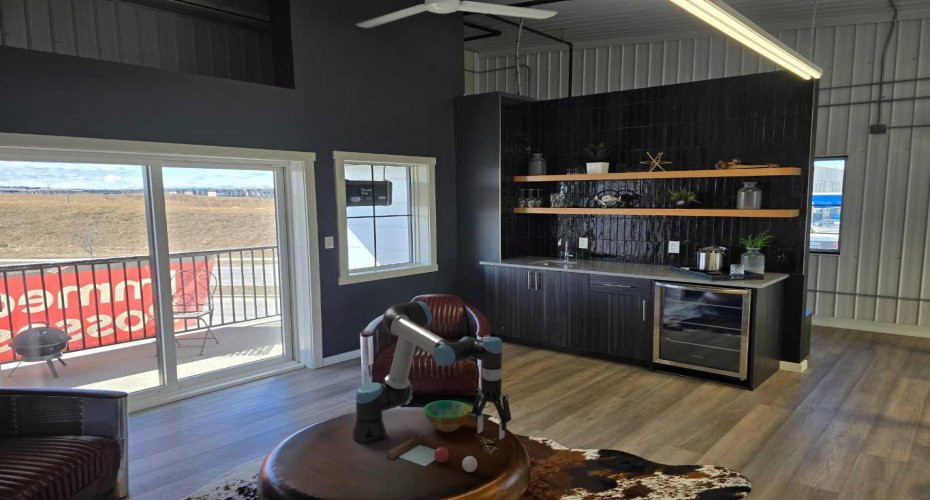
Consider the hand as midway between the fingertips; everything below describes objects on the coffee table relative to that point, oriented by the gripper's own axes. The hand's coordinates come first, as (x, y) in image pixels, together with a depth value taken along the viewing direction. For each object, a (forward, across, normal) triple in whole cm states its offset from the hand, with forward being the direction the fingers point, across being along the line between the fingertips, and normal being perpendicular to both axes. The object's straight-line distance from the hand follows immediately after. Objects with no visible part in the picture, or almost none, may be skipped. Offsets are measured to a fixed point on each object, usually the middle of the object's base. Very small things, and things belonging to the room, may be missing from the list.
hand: (490, 434), depth 218 cm
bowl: (+18, -40, +28) cm, 52 cm away
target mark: (+17, -34, 0) cm, 38 cm away
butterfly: (+18, -14, +22) cm, 32 cm away
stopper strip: (+17, -43, 0) cm, 46 cm away
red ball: (+14, -24, 0) cm, 28 cm away
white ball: (+14, -10, 0) cm, 17 cm away
